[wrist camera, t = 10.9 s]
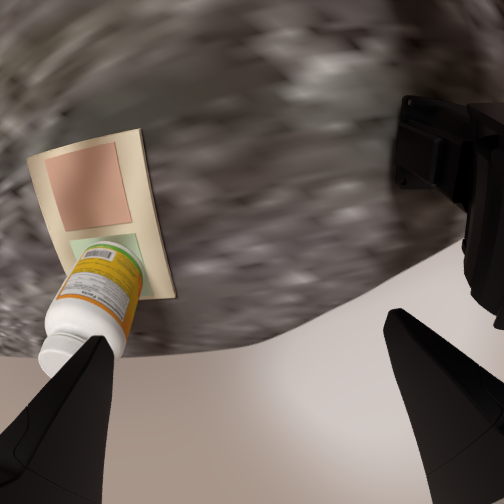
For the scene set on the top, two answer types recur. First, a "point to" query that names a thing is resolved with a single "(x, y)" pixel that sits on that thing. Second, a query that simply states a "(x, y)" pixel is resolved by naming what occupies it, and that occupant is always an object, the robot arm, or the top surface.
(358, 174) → the top surface
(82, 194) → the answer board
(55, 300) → the supplement bottle
